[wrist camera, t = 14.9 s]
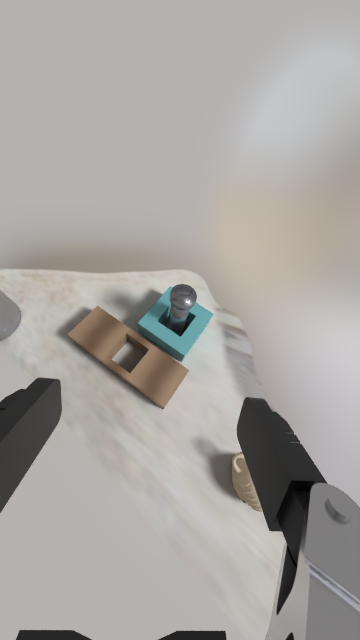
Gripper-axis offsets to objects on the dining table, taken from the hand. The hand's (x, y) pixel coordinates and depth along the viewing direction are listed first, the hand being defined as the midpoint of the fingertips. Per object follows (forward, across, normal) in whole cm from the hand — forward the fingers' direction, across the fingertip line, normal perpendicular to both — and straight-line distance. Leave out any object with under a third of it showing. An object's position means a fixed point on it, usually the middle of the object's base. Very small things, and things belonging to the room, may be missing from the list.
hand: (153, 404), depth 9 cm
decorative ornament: (+16, -15, +25) cm, 33 cm away
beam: (+27, +5, +13) cm, 31 cm away
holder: (+32, -2, +8) cm, 33 cm away
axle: (+32, -2, +8) cm, 33 cm away
